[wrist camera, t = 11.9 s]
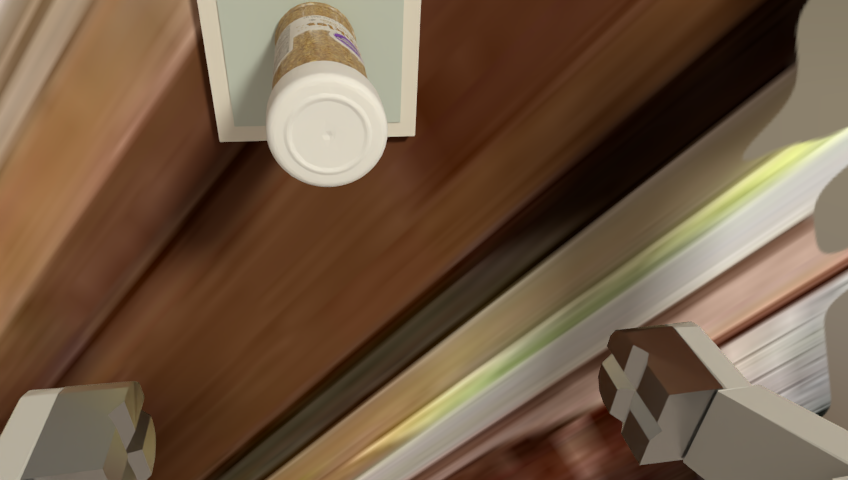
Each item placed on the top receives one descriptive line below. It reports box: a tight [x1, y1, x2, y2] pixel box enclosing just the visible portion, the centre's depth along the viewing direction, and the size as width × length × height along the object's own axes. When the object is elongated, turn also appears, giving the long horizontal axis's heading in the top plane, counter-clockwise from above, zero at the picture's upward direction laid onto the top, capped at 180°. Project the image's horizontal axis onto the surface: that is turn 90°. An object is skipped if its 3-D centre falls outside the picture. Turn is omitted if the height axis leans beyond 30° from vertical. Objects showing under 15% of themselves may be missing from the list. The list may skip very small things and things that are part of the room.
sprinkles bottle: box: [266, 2, 388, 187], centre depth 26 cm, size 5×5×13 cm
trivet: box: [197, 0, 421, 142], centre depth 32 cm, size 12×12×1 cm
